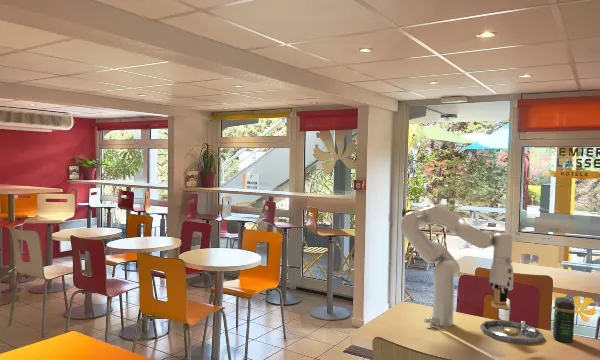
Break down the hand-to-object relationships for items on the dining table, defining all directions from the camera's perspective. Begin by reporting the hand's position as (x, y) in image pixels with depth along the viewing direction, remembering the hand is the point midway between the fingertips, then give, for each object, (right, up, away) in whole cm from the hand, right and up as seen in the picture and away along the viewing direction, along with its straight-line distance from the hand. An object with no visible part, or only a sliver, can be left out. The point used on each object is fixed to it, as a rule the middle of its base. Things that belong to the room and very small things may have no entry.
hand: (499, 299), depth 211 cm
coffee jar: (+30, -19, +2) cm, 36 cm away
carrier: (+6, -18, +3) cm, 19 cm away
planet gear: (0, -3, 0) cm, 3 cm away
